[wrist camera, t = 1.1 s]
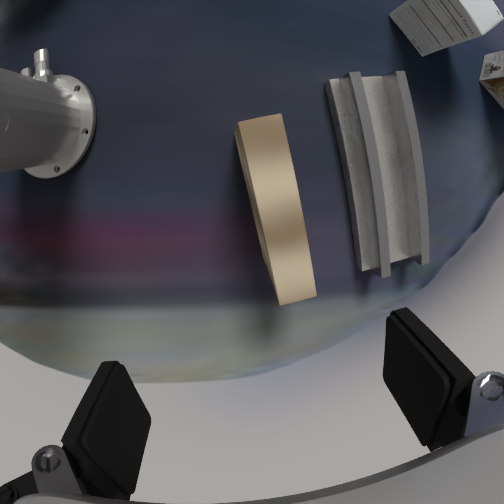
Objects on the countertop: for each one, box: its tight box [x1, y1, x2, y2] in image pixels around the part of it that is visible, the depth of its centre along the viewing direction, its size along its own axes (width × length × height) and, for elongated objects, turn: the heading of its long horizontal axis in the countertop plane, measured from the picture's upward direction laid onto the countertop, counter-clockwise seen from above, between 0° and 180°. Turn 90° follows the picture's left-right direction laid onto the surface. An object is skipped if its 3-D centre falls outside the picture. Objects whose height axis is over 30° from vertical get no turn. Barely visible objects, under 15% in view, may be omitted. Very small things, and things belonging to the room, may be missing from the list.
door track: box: [324, 71, 429, 278], centre depth 30 cm, size 22×9×5 cm, turn 13°
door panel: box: [234, 114, 317, 306], centre depth 27 cm, size 14×3×12 cm, turn 13°
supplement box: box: [389, 0, 504, 57], centre depth 21 cm, size 7×7×13 cm
